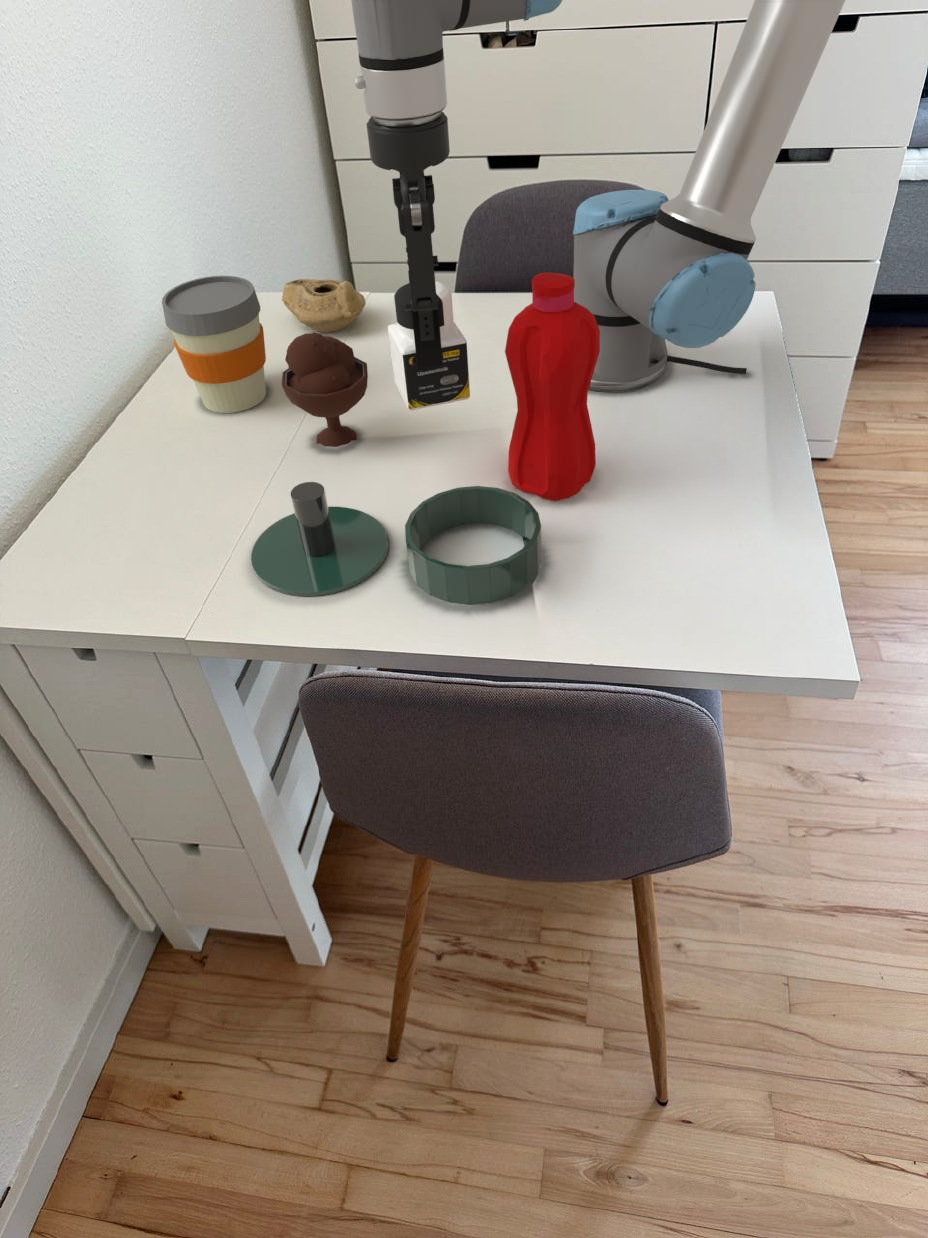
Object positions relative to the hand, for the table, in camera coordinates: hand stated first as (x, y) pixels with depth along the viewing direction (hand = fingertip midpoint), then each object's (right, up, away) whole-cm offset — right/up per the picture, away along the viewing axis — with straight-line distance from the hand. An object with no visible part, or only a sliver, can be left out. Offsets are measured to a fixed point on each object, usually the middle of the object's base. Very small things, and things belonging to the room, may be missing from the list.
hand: (427, 345), depth 98 cm
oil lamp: (-18, +17, +46) cm, 52 cm away
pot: (+5, -24, 0) cm, 24 cm away
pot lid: (-12, -22, +2) cm, 26 cm away
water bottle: (+15, -13, +11) cm, 23 cm away
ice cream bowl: (-13, -6, +20) cm, 25 cm away
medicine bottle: (0, -4, +4) cm, 6 cm away
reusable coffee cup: (-29, +2, +30) cm, 42 cm away
